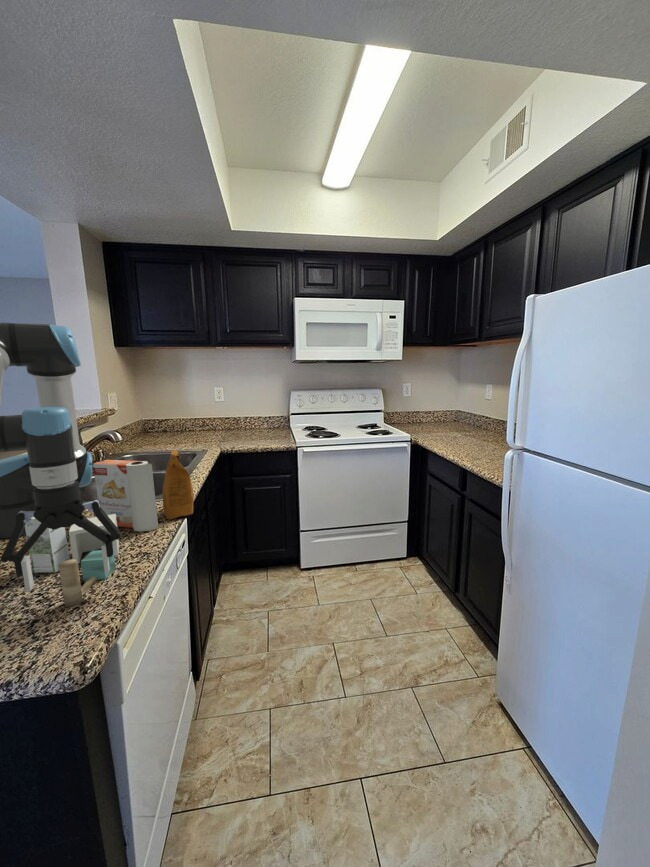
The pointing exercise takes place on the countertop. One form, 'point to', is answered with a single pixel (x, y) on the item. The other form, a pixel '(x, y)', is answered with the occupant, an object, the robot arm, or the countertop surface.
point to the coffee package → (177, 489)
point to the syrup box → (47, 548)
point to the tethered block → (91, 572)
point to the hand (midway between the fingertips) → (70, 579)
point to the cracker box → (114, 490)
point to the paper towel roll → (142, 496)
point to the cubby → (89, 539)
